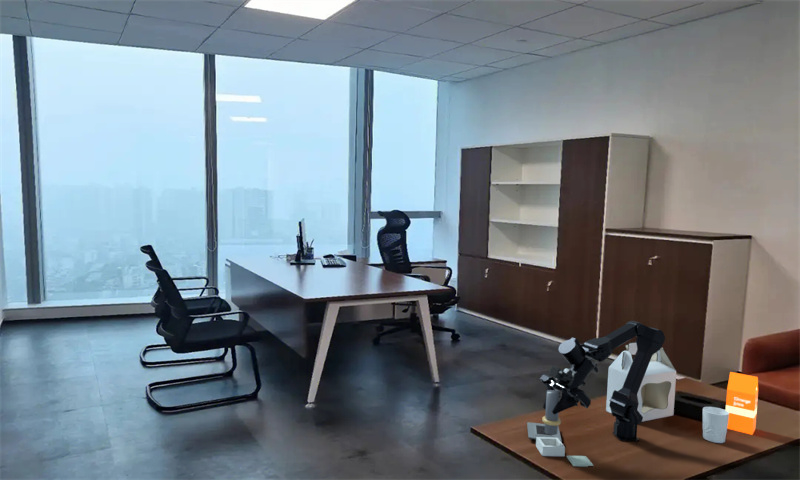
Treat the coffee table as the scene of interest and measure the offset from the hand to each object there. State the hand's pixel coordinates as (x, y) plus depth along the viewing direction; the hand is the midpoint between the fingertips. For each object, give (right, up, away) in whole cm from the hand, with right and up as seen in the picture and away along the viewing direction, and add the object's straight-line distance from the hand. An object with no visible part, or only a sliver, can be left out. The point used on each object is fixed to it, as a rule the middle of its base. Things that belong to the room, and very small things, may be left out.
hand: (548, 410), depth 173 cm
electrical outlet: (+2, -13, +13) cm, 19 cm away
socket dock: (+1, -13, +1) cm, 13 cm away
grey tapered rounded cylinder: (+1, -7, +1) cm, 7 cm away
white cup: (+61, -15, +16) cm, 65 cm away
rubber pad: (+8, -14, -5) cm, 17 cm away
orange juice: (+77, -15, +26) cm, 83 cm away
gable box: (+45, -13, +38) cm, 61 cm away
